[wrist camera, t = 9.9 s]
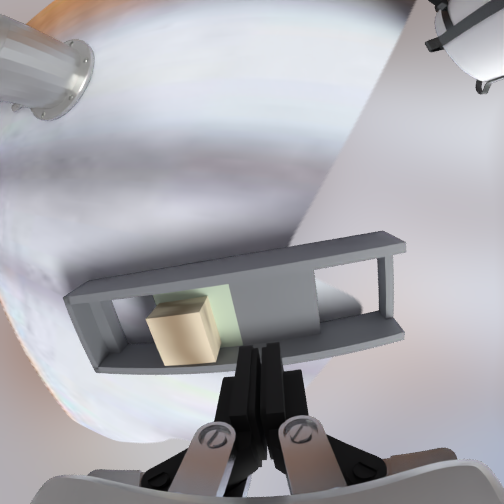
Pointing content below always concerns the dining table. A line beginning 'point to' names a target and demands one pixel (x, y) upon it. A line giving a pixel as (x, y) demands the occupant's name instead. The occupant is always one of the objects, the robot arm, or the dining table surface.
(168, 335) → the beech block
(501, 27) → the coffee press
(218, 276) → the trap box
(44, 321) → the dining table surface
